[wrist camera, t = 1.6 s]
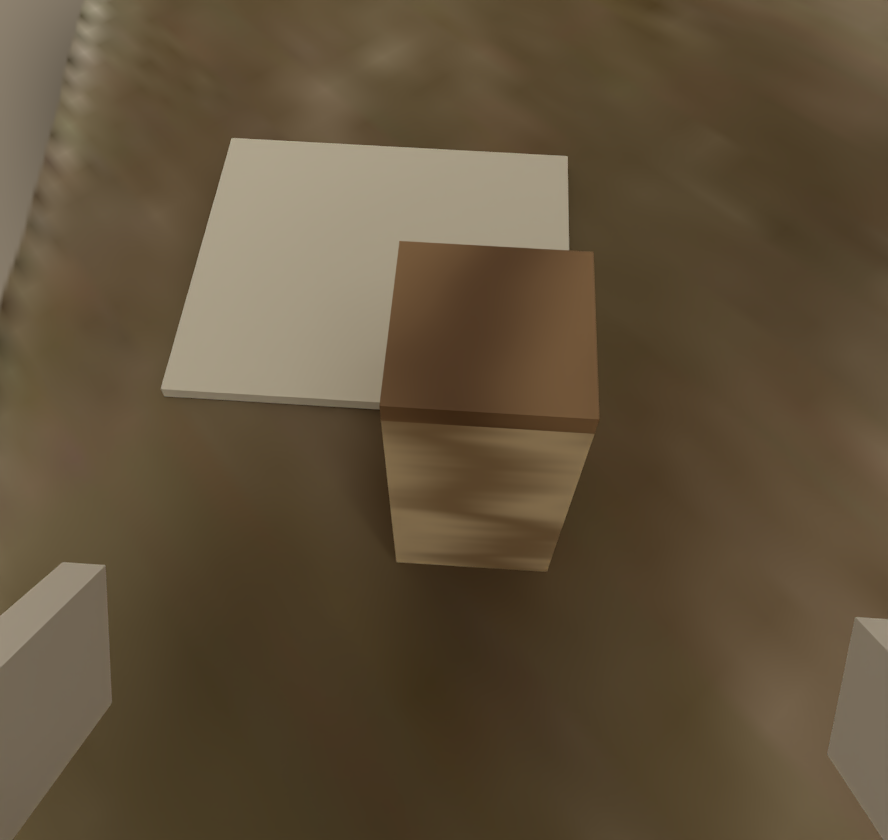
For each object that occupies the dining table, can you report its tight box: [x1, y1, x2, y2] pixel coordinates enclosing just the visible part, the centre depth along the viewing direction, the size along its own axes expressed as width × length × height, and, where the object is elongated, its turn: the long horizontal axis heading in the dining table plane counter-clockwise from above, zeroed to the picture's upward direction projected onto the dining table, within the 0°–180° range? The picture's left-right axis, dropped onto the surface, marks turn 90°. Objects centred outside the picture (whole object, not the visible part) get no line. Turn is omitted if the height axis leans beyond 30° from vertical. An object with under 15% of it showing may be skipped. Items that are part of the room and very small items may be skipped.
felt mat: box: [161, 138, 569, 410], centre depth 40 cm, size 18×16×1 cm
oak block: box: [379, 241, 600, 572], centre depth 29 cm, size 6×6×12 cm
